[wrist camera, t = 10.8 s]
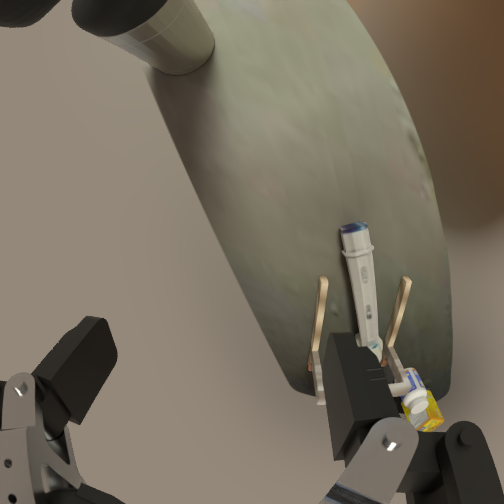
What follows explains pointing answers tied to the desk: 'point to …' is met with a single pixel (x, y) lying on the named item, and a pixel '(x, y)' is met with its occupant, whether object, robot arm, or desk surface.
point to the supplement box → (425, 415)
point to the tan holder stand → (388, 351)
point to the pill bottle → (415, 393)
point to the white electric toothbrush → (362, 284)
